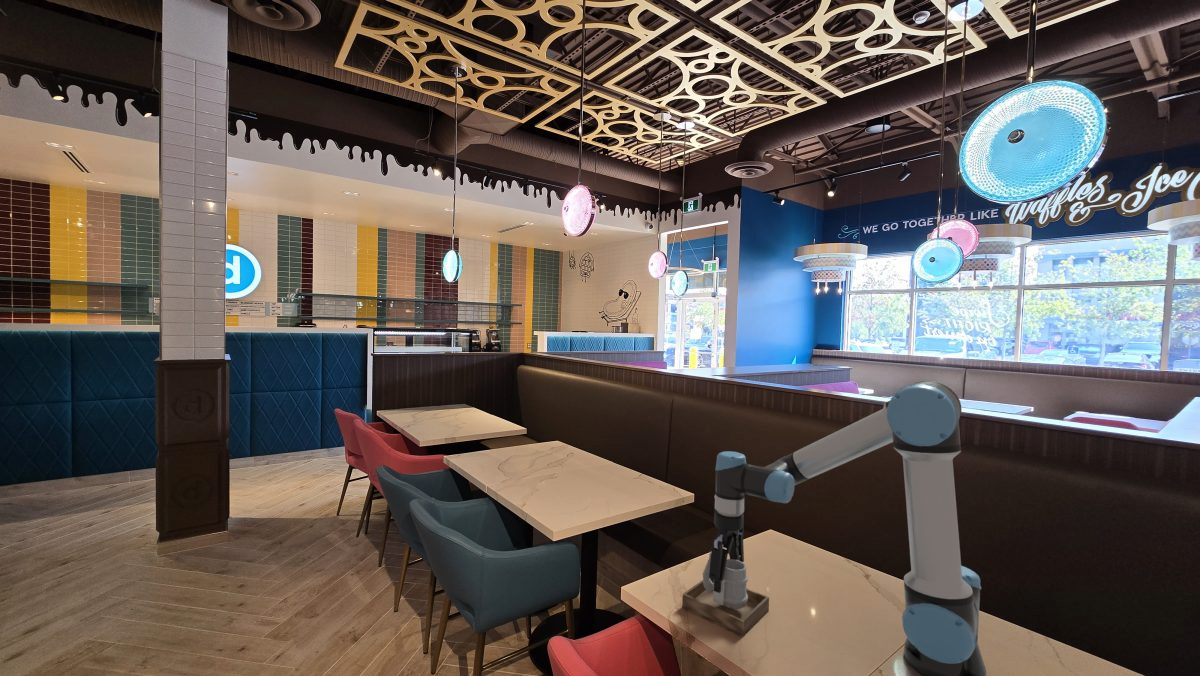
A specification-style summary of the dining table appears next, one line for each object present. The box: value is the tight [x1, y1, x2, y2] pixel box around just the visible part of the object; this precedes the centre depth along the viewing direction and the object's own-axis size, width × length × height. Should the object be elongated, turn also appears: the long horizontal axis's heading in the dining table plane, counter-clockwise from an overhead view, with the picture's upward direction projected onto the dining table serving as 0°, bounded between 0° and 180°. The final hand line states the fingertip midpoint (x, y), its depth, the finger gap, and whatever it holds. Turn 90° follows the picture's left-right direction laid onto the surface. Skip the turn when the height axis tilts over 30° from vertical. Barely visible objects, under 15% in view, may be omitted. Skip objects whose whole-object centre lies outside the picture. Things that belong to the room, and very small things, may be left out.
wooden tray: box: [681, 578, 770, 638], centre depth 130 cm, size 17×15×4 cm
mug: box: [702, 551, 749, 609], centre depth 129 cm, size 8×12×12 cm, turn 71°
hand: (726, 596), depth 130 cm, fingers closed on mug, 7 cm apart
